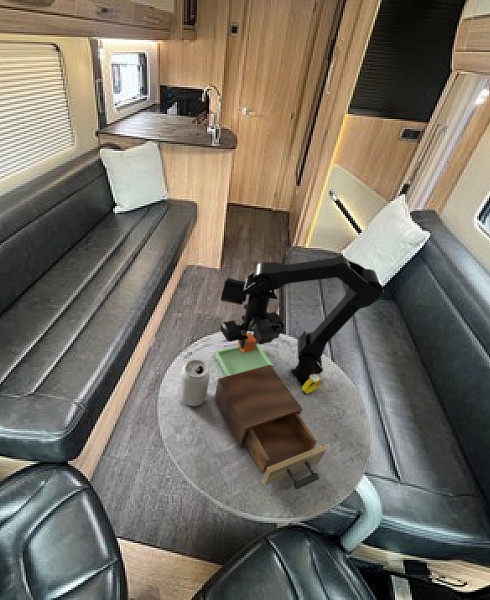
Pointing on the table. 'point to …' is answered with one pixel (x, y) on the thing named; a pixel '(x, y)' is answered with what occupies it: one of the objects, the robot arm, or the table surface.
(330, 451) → the table surface
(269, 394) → the cabinet
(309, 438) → the drawer
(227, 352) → the tray
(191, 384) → the can
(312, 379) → the watch
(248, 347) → the cube
